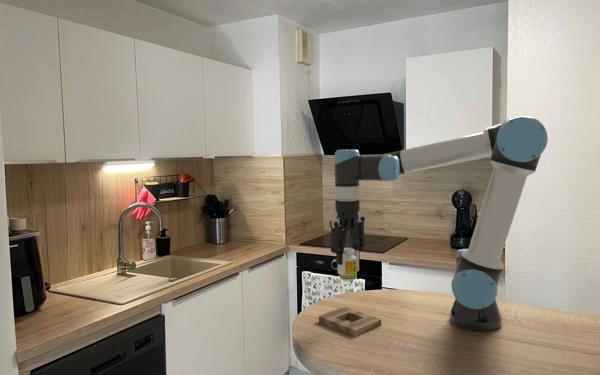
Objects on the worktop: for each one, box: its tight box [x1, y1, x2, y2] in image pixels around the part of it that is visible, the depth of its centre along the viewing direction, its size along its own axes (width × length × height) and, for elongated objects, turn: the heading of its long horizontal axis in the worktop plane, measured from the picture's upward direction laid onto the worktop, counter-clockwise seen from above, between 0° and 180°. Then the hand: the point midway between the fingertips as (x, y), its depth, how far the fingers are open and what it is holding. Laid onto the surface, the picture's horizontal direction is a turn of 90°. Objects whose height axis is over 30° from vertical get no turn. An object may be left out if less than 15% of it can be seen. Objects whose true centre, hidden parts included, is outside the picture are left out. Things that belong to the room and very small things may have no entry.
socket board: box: [318, 306, 382, 338], centre depth 148 cm, size 16×12×2 cm
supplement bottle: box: [339, 247, 358, 282], centre depth 146 cm, size 5×5×10 cm
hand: (348, 272), depth 146 cm, fingers closed on supplement bottle, 5 cm apart
